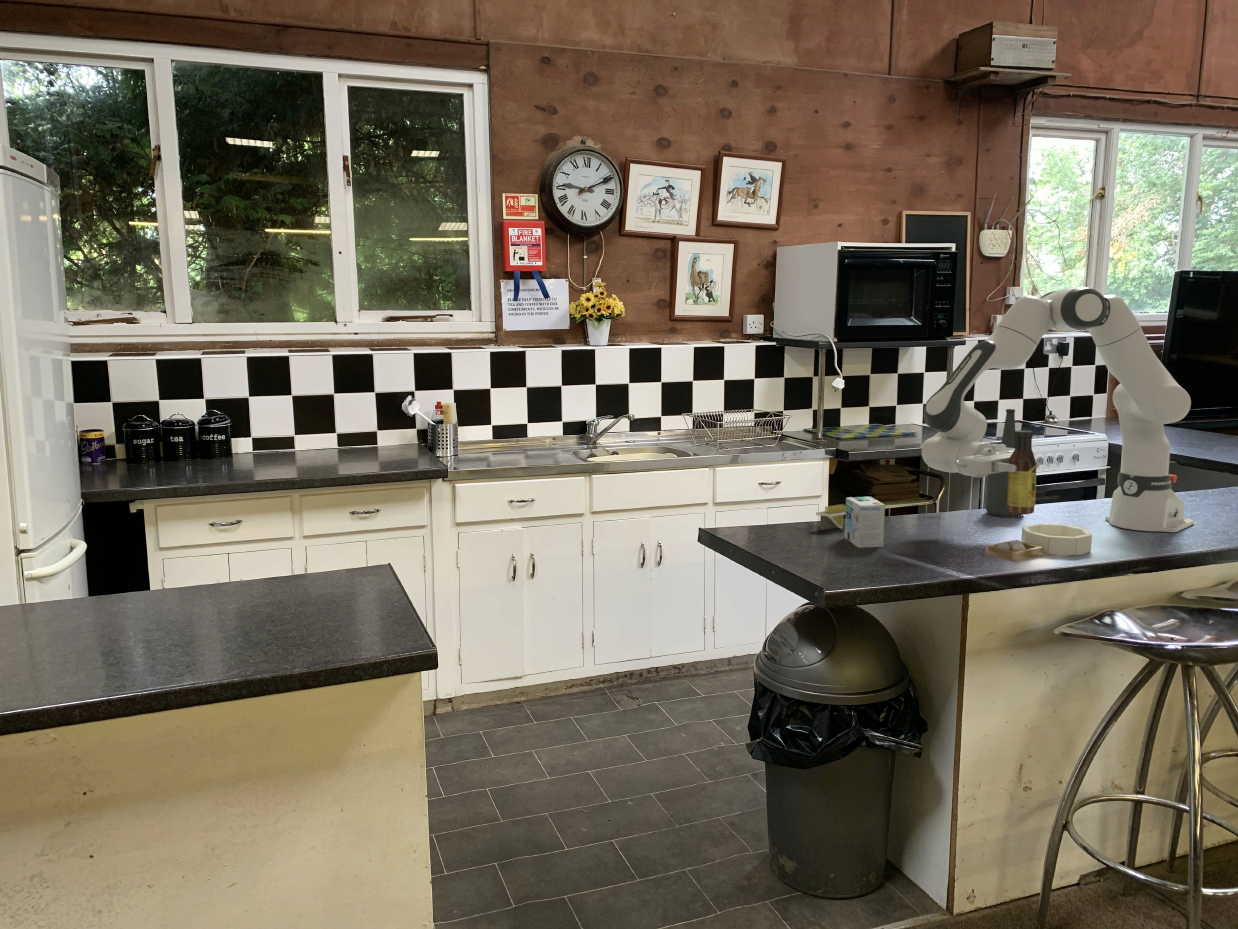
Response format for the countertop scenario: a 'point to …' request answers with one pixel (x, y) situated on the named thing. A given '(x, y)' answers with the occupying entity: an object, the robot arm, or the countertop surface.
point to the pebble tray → (1029, 553)
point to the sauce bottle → (1022, 475)
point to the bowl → (1058, 538)
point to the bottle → (1001, 475)
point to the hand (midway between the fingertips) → (1026, 466)
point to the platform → (832, 517)
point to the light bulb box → (864, 522)
